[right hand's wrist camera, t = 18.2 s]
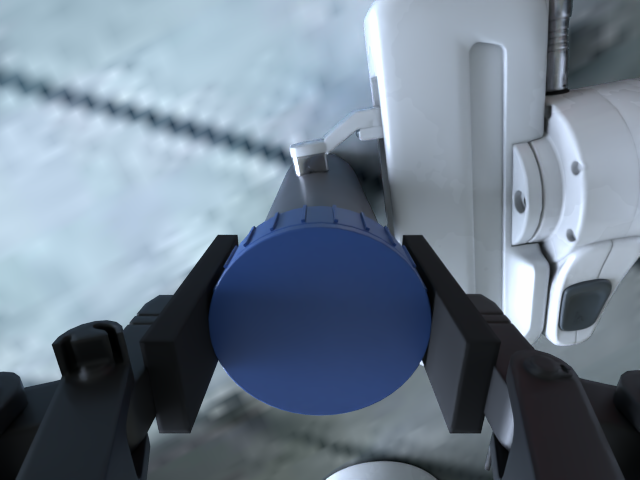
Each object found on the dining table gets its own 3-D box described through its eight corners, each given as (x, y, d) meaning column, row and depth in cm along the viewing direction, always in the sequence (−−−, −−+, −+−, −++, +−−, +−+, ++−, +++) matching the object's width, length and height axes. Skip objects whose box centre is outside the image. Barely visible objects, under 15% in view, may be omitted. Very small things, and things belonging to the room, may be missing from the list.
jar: (348, 234, 27) (381, 395, 13) (276, 218, 27) (221, 366, 12) (368, 162, 25) (435, 253, 11) (291, 143, 25) (247, 212, 10)
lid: (262, 168, 11) (249, 184, 9) (454, 249, 12) (479, 279, 10) (199, 338, 13) (178, 378, 11) (365, 394, 14) (372, 440, 12)
